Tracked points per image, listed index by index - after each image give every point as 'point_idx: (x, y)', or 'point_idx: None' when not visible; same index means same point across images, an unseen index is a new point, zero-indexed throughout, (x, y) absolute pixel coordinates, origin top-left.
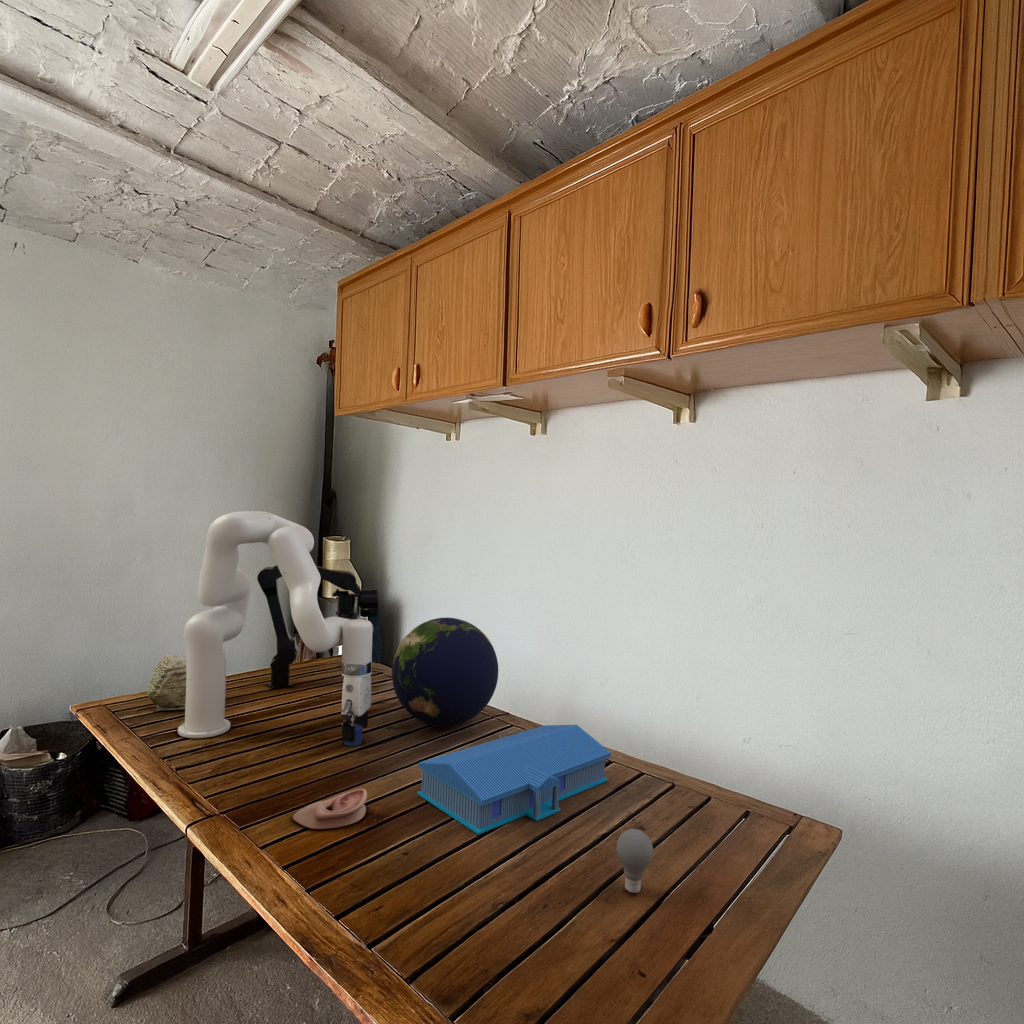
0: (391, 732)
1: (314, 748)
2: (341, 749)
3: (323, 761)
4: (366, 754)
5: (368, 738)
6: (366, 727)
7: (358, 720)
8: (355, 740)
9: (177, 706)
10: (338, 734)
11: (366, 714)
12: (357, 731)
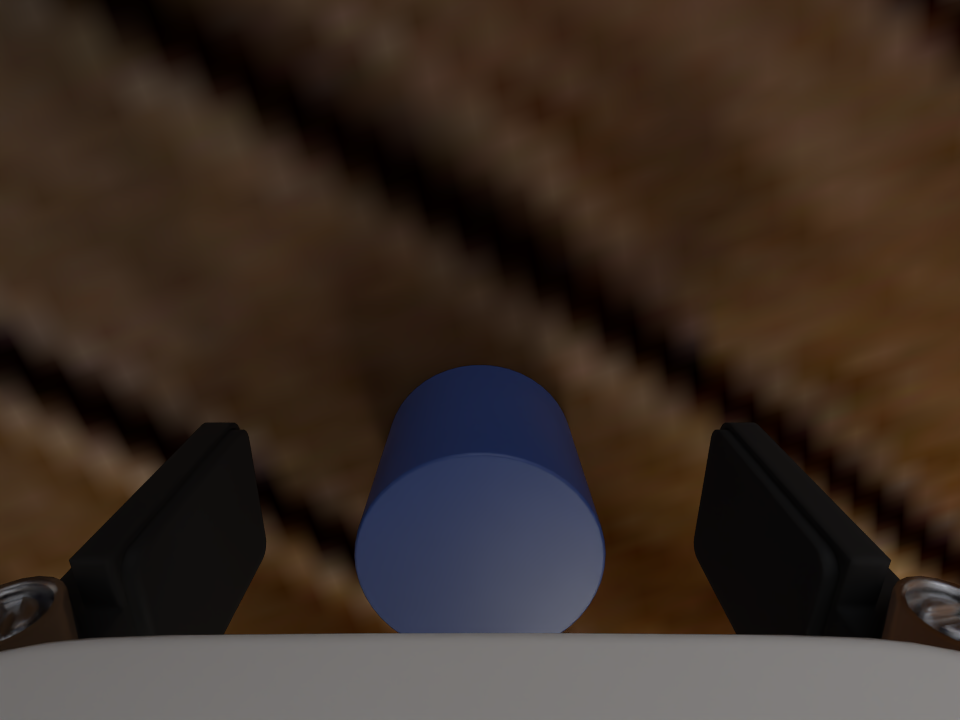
0: (12, 117)
1: None
2: (661, 495)
3: (951, 544)
4: (779, 207)
5: (310, 339)
6: (235, 427)
7: (223, 588)
8: (564, 431)
9: None
10: (307, 631)
11: (137, 557)
12: (568, 474)
